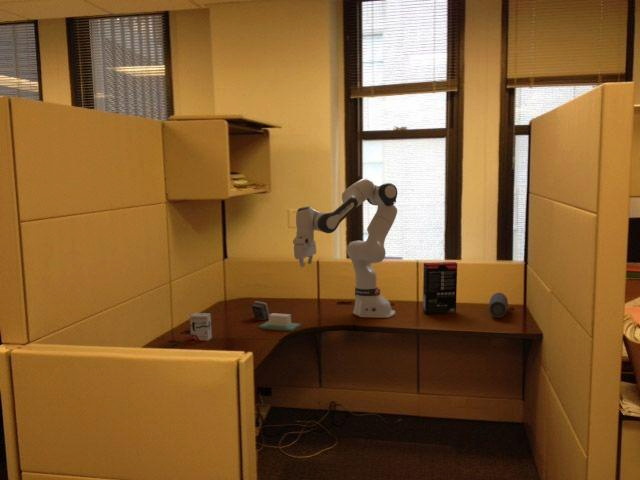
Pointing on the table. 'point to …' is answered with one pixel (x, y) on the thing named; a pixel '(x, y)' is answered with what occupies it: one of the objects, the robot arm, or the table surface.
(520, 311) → the table surface
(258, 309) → the electrical switch
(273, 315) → the block
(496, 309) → the bluetooth speaker
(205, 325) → the ink box
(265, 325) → the header board
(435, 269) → the graphics card box
